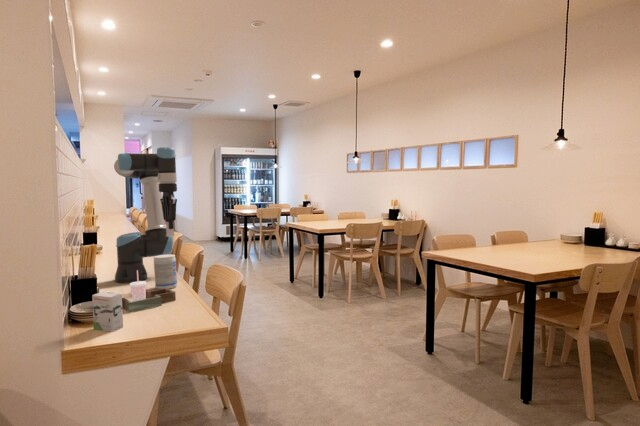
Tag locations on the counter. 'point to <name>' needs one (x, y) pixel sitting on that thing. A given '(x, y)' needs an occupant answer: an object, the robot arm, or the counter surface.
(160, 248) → the robot arm
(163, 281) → the supplement tub
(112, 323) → the ink box
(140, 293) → the beverage cup
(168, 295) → the divided tray
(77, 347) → the counter surface
